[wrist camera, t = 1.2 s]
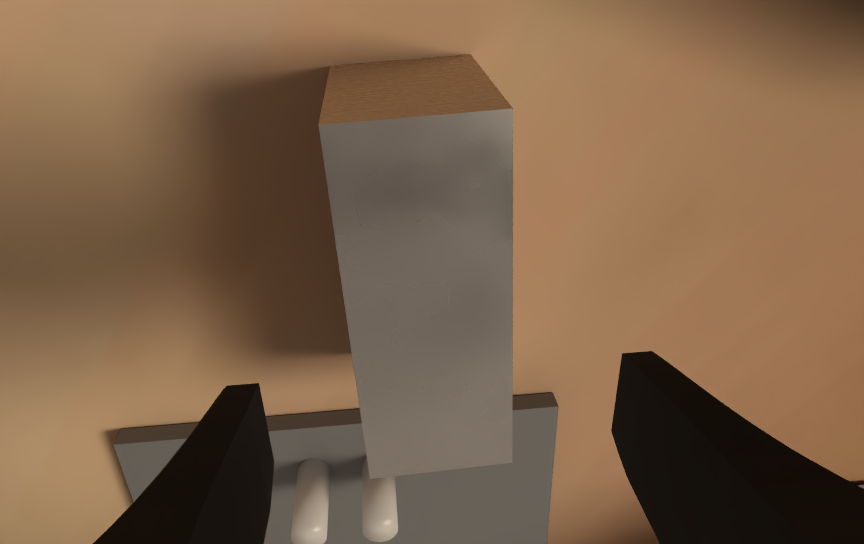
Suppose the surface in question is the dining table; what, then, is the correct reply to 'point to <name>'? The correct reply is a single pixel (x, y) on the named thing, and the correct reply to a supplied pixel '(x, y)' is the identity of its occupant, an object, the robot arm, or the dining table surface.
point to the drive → (424, 257)
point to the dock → (380, 483)
